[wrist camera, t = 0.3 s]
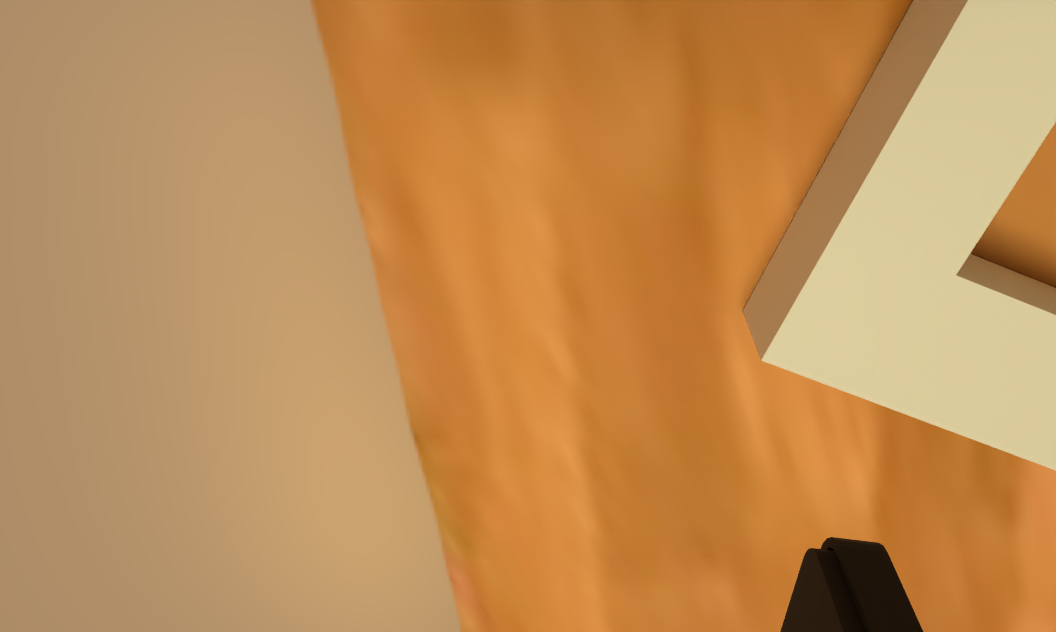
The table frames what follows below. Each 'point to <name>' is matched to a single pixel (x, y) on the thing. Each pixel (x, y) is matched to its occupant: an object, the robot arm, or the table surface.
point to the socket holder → (928, 234)
